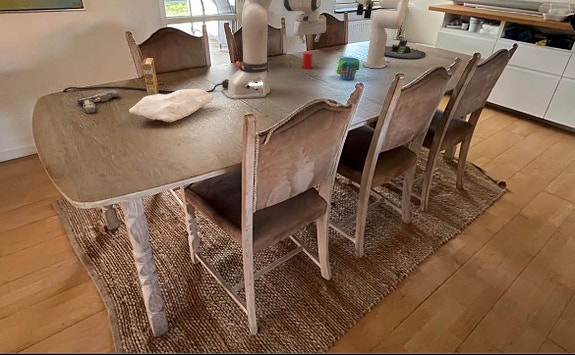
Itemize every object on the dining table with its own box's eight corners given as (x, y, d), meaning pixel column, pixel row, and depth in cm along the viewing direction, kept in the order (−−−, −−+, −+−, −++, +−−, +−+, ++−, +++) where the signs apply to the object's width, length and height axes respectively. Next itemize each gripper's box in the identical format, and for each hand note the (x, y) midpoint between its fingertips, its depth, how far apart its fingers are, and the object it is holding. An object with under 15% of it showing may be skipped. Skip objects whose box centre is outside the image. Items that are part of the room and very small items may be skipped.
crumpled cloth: (117, 110, 146) (113, 90, 140) (195, 92, 166) (194, 73, 160) (143, 139, 134) (140, 118, 128) (223, 116, 154) (224, 96, 148)
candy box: (157, 97, 164) (152, 63, 155) (147, 98, 163) (141, 63, 155) (158, 91, 171) (153, 57, 163) (149, 91, 170) (143, 58, 162)
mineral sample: (436, 54, 249) (439, 40, 244) (402, 60, 231) (404, 45, 227) (396, 47, 273) (398, 34, 269) (363, 52, 256) (364, 38, 252)
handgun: (128, 97, 156) (111, 87, 164) (86, 107, 144) (70, 97, 152) (129, 103, 157) (113, 94, 165) (88, 114, 146) (72, 103, 154)
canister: (311, 69, 211) (313, 54, 207) (303, 68, 211) (304, 53, 206) (311, 66, 216) (312, 51, 211) (302, 66, 215) (303, 51, 211)
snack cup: (351, 73, 205) (353, 55, 200) (364, 79, 198) (367, 60, 193) (329, 77, 198) (331, 58, 192) (342, 83, 191) (344, 63, 185)
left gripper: (322, 14, 205) (320, 39, 213) (292, 16, 195) (291, 43, 203) (329, 15, 201) (327, 41, 208) (299, 18, 191) (298, 45, 199)
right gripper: (354, -25, 177) (349, 13, 186) (368, -22, 163) (362, 19, 172) (368, -24, 178) (363, 13, 188) (383, -21, 164) (377, 19, 174)
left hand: (309, 42), depth 205 cm, fingers open, 8 cm apart
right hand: (363, 16), depth 180 cm, fingers open, 9 cm apart
